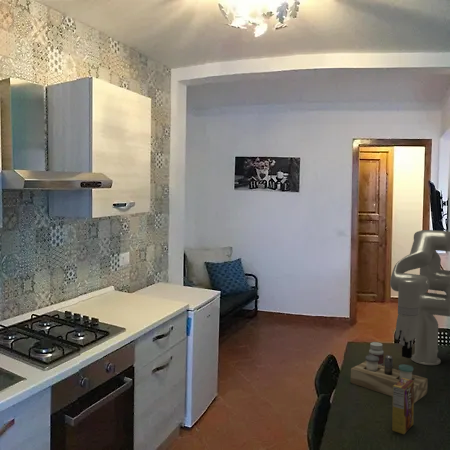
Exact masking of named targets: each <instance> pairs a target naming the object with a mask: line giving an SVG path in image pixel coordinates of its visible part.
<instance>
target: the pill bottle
mask: <svg viewBox="0 0 450 450" xmlns="http://www.w3.org/2000/svg"><path fill="white" fill-rule="evenodd" d="M369 345H370V346H369V350H368V355H374V356H377V357H379V361H378V365H382V366H384V361H385V357H384V355H385V353H384V350H383V343H382V342H378V341H377V342H376V341H373V342H370V344H369Z"/></svg>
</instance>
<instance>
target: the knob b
mask: <svg viewBox="0 0 450 450" xmlns="http://www.w3.org/2000/svg"><path fill="white" fill-rule="evenodd" d="M398 370H399V371H400V377H399V380H401V379H402V378H405V379H410V380H412V374H413V371H414V367H413V365H410V364H404V363H403V364H399V365H398Z"/></svg>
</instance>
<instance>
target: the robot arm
mask: <svg viewBox="0 0 450 450" xmlns="http://www.w3.org/2000/svg"><path fill="white" fill-rule="evenodd" d="M438 251H439V252H449V253H450V231H446V230H435V229H433V230H432V229H423V230H419V231H416V232H415V233H414V234H413V241H412V246H411V249H410V253H409V254H408V255H406V256H404V257H402V258H401V259H400V260H398V261H397V263H396V264H394V267H393V270H392V272H391V276H390V281H389V286H390V288H391V289H392V290H393V291H394V292H397V293H398V294H397V295H398V296H397V318H396V326H395V335H394V337H395V338H394V339H395V340H396V341H399V345H400V346H401V357H402V358H406V359H411V361H413V362H414V363H416V364H420V365H424V366H438V365H440V364H441V362H442V361H441V359H440V358H439V357H438V353H439V349H438V346H439V345H438V343H439V340H438V339H439V323H438V320H437V319H436V317H435V316H441V317H450V270H448V269H447V270H446V269H441V262H442V261H441V260H442V259H441V256H440V254H439V253H438ZM416 269H419V274H415V273H414V274H413V273H407V272H409V271H413V270H416ZM429 290H430V291H438V292H444V293H445V294H443V293H435V292H428V291H429ZM413 345H414V353H413Z"/></svg>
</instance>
